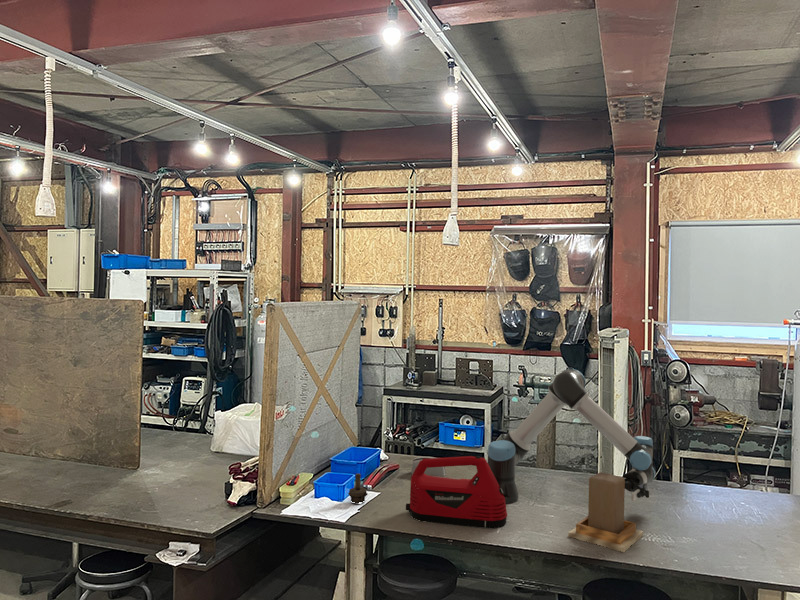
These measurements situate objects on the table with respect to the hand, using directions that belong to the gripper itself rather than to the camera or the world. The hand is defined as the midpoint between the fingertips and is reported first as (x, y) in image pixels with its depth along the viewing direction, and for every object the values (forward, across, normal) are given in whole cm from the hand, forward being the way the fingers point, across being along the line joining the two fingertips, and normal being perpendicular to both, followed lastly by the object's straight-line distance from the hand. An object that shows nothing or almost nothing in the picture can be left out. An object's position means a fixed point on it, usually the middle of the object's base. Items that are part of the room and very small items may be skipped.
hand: (614, 493), depth 222 cm
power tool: (+30, +51, -14) cm, 61 cm away
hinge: (-8, +93, -14) cm, 95 cm away
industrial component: (+45, +91, -14) cm, 102 cm away
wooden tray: (+7, 0, -14) cm, 16 cm away
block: (+7, 0, -13) cm, 14 cm away
